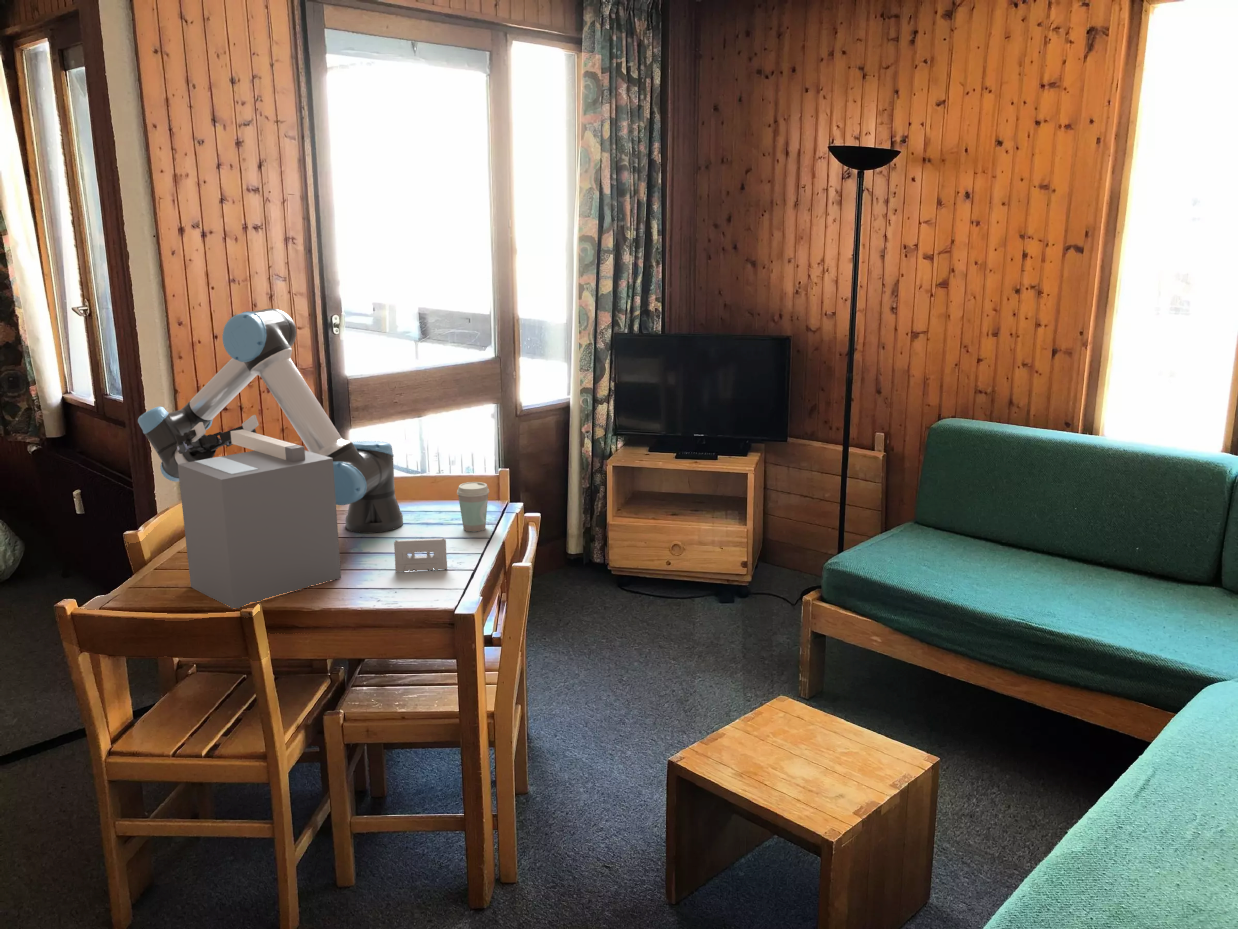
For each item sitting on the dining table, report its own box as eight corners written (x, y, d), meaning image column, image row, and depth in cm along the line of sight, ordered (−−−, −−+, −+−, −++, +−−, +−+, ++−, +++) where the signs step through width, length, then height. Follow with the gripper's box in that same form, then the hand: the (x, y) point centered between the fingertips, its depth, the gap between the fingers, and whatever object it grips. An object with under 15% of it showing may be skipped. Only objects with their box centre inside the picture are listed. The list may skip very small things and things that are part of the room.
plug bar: (231, 443, 238) (230, 431, 238) (243, 441, 240) (242, 429, 240) (293, 462, 220) (292, 448, 219) (305, 459, 222) (304, 446, 221)
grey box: (190, 587, 225) (177, 463, 218) (295, 559, 244) (286, 444, 237) (233, 609, 212) (221, 479, 205) (341, 578, 230) (332, 457, 224)
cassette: (395, 573, 234) (393, 542, 232) (395, 570, 236) (394, 539, 234) (447, 571, 236) (445, 540, 234) (447, 568, 237) (446, 537, 236)
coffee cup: (484, 534, 263) (483, 490, 260) (453, 532, 264) (451, 488, 262) (494, 525, 271) (493, 482, 268) (464, 523, 273) (463, 480, 270)
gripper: (245, 457, 265) (281, 431, 251) (151, 473, 247) (184, 445, 232) (237, 431, 266) (272, 403, 251) (142, 445, 247) (174, 415, 233)
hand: (229, 423), depth 242 cm, fingers open, 13 cm apart
